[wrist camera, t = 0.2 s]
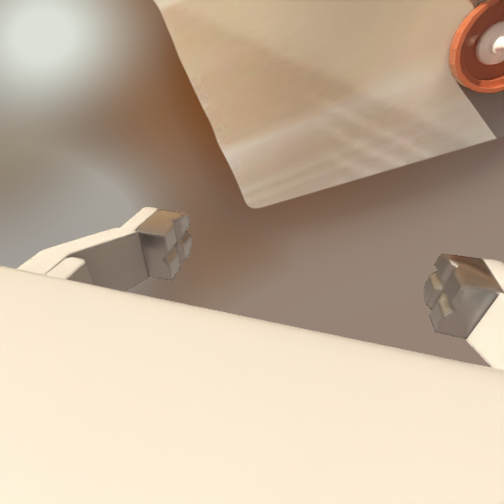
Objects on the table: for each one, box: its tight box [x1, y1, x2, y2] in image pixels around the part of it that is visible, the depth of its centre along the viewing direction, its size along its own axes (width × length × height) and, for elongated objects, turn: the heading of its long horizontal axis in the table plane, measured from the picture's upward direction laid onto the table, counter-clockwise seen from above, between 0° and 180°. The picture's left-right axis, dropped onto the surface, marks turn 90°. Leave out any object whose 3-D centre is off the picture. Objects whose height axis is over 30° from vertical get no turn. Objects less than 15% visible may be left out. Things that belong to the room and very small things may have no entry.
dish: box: [449, 0, 504, 93], centre depth 39 cm, size 11×11×3 cm
